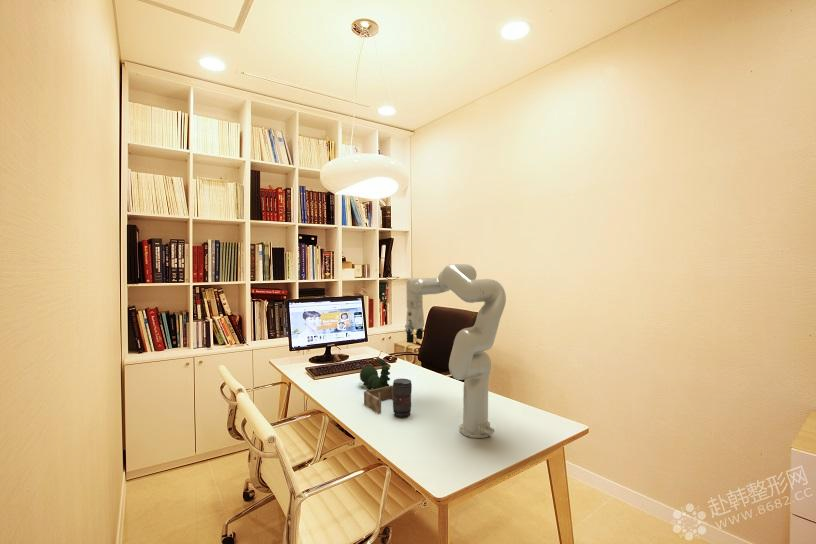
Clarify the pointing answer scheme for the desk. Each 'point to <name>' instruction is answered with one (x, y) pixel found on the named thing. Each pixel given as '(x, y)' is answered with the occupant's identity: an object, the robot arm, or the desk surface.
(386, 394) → the walnut bay
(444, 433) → the desk surface
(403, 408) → the dark barrel
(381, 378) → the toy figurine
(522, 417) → the desk surface
